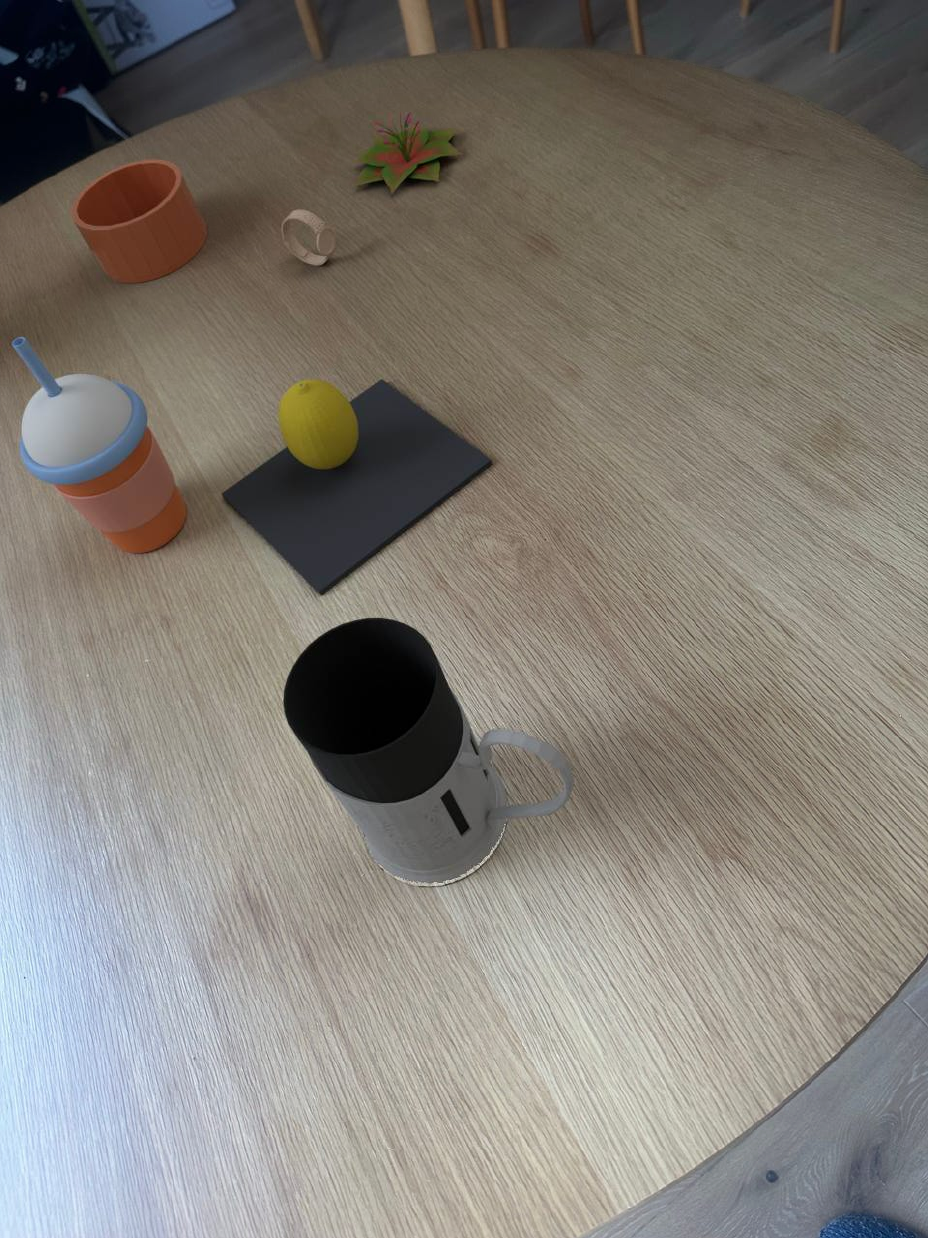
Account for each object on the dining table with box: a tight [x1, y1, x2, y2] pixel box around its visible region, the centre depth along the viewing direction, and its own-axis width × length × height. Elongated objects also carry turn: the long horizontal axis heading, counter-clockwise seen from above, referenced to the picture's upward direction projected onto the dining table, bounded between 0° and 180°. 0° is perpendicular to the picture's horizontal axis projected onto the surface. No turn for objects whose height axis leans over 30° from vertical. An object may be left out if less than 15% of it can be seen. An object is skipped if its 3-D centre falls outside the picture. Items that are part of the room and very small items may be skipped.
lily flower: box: [352, 110, 463, 194], centre depth 96 cm, size 12×12×5 cm
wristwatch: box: [280, 209, 337, 267], centre depth 90 cm, size 3×5×5 cm, turn 60°
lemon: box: [277, 378, 358, 469], centre depth 72 cm, size 6×6×8 cm
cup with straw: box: [11, 336, 187, 554], centre depth 69 cm, size 9×9×18 cm
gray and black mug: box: [283, 617, 575, 884], centre depth 51 cm, size 9×14×15 cm, turn 67°
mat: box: [221, 378, 493, 596], centre depth 74 cm, size 16×14×1 cm
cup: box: [70, 158, 208, 284], centre depth 97 cm, size 11×11×6 cm
